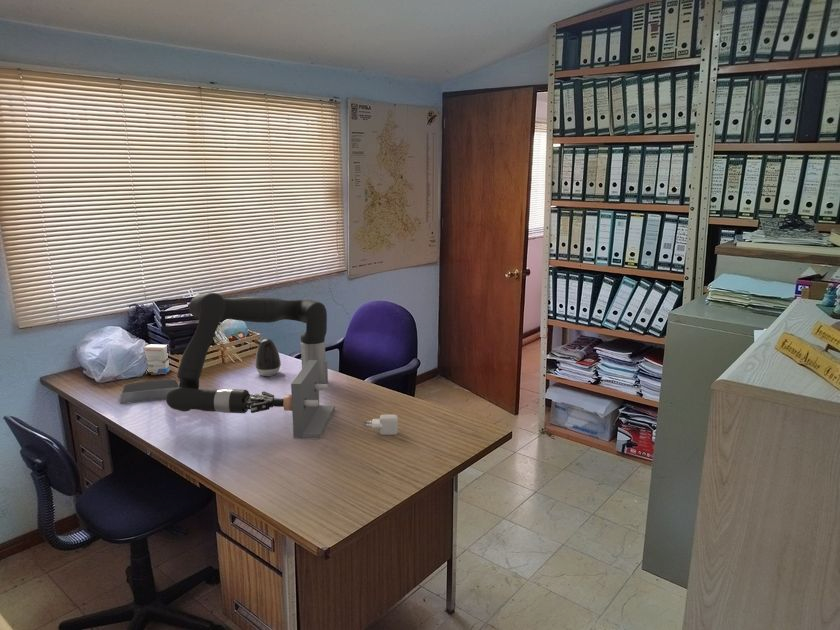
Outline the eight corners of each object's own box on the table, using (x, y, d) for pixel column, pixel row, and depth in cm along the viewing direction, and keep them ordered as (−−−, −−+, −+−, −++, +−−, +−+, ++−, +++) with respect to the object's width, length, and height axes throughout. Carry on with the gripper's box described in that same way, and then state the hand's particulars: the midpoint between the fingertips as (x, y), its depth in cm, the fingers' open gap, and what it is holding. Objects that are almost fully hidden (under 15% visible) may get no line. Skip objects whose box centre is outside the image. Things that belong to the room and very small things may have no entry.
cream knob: (295, 395, 203) (294, 381, 202) (299, 390, 208) (298, 376, 207) (326, 396, 203) (325, 382, 202) (328, 391, 208) (328, 377, 207)
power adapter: (362, 436, 190) (362, 419, 189) (363, 430, 195) (363, 413, 193) (398, 436, 190) (397, 419, 189) (398, 430, 195) (398, 413, 194)
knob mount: (293, 438, 189) (291, 383, 184) (310, 408, 212) (308, 360, 208) (320, 438, 188) (318, 384, 184) (334, 409, 211) (333, 360, 207)
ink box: (172, 371, 251) (169, 344, 248) (165, 375, 246) (163, 347, 243) (152, 370, 252) (149, 343, 249) (146, 374, 247) (143, 346, 244)
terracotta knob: (283, 412, 189) (282, 398, 188) (287, 406, 194) (287, 392, 193) (316, 413, 188) (315, 398, 187) (319, 407, 193) (319, 393, 192)
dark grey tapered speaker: (260, 369, 253) (258, 335, 250) (284, 370, 252) (282, 335, 249) (251, 377, 244) (249, 341, 240) (276, 378, 243) (274, 342, 239)
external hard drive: (177, 399, 222) (176, 388, 221) (119, 405, 215) (118, 394, 215) (179, 387, 234) (178, 377, 233) (124, 392, 227) (123, 382, 226)
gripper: (223, 397, 184) (279, 399, 183) (238, 382, 197) (290, 384, 196) (225, 420, 186) (280, 422, 185) (239, 404, 199) (291, 406, 198)
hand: (285, 402), depth 191 cm, fingers closed
